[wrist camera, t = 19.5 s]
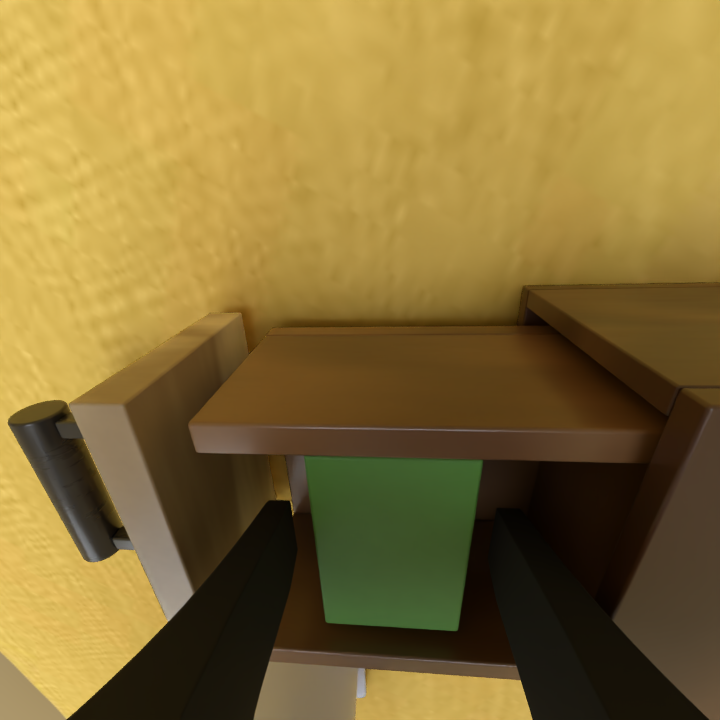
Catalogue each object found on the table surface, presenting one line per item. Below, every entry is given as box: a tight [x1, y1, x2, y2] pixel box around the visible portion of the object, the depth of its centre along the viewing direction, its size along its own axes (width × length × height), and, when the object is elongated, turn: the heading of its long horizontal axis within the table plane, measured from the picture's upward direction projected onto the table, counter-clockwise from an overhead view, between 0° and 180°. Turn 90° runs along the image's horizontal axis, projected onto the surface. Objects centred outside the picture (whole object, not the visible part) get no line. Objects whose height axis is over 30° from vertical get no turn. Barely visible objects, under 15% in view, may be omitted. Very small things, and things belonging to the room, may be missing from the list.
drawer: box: [8, 313, 669, 680], centre depth 11 cm, size 18×10×6 cm, turn 92°
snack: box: [304, 456, 483, 631], centre depth 11 cm, size 4×6×4 cm, turn 2°
